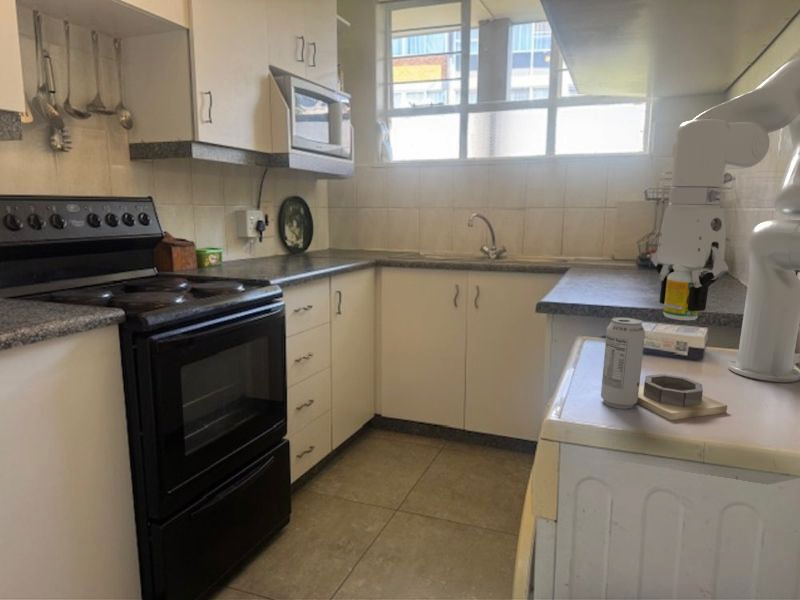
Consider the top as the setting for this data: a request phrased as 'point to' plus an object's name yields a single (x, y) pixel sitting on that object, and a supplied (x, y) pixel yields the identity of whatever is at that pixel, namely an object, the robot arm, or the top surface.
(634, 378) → the energy drink can
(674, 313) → the supplement bottle
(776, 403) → the top surface
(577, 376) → the top surface
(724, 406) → the collar
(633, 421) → the top surface
